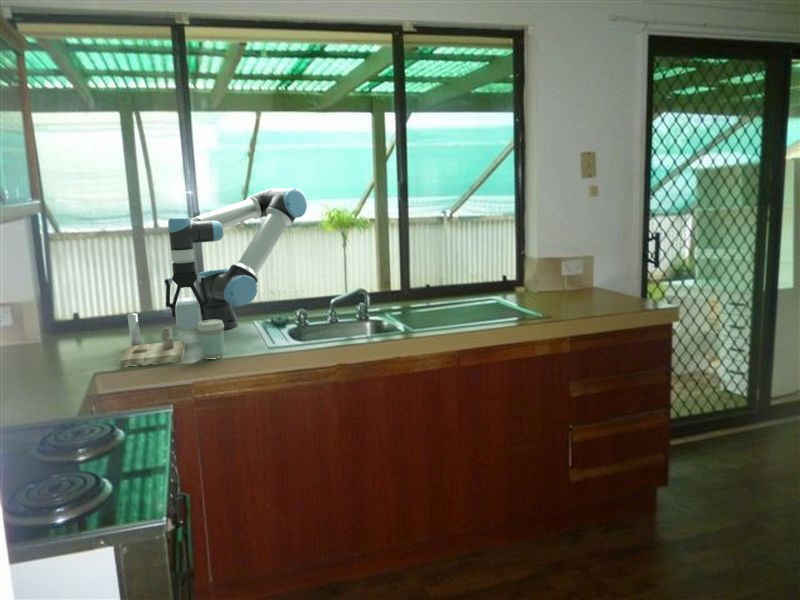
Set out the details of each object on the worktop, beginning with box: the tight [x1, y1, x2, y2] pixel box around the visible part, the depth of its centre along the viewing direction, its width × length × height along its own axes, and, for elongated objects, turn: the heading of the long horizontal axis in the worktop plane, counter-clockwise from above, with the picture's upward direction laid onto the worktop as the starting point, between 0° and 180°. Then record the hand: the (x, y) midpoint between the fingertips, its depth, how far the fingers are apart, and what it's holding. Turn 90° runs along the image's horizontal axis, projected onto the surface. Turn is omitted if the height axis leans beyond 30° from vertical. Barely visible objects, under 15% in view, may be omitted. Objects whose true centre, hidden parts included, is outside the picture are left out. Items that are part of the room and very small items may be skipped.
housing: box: [175, 299, 199, 331], centre depth 216 cm, size 7×7×9 cm
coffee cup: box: [196, 319, 224, 359], centre depth 198 cm, size 8×8×12 cm
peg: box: [126, 312, 142, 346], centre depth 214 cm, size 3×3×12 cm
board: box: [120, 326, 186, 368], centre depth 201 cm, size 18×18×10 cm
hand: (189, 324), depth 217 cm, fingers closed on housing, 7 cm apart
